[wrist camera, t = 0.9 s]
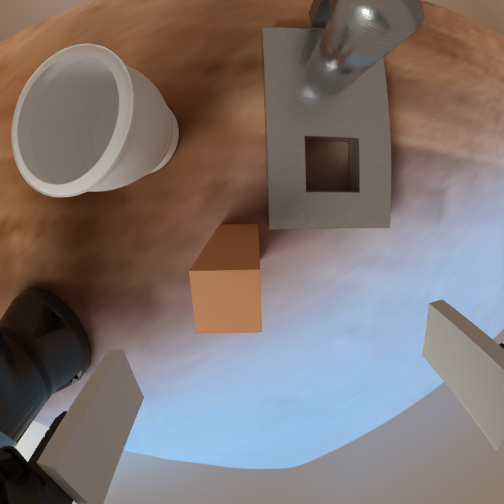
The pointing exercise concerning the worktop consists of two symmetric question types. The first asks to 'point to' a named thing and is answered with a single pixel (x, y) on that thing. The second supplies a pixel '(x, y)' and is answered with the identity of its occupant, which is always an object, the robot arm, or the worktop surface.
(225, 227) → the orange square bar
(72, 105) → the jar
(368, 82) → the plate with square hole
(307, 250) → the worktop surface
